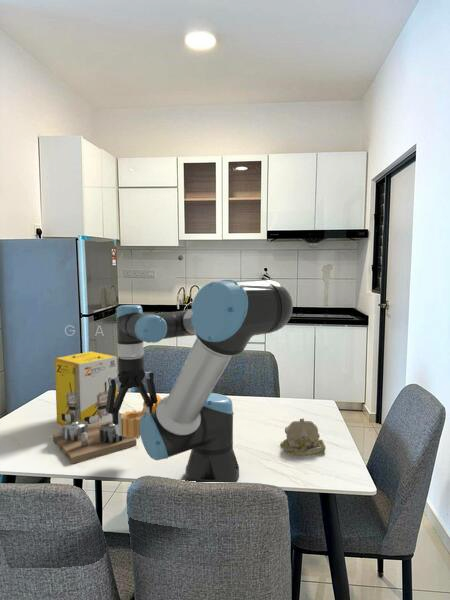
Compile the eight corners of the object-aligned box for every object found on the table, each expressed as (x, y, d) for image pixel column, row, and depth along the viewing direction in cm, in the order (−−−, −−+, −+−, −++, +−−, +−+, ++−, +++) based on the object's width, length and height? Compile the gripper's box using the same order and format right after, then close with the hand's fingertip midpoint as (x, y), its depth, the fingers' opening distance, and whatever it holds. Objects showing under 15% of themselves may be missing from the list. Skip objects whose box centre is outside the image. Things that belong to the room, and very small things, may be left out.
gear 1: (92, 437, 135) (91, 416, 134) (66, 443, 130) (65, 422, 129) (83, 429, 142) (83, 409, 141) (59, 435, 136) (58, 415, 136)
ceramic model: (281, 456, 125) (281, 425, 125) (279, 440, 136) (279, 412, 136) (327, 457, 124) (327, 426, 123) (321, 442, 135) (321, 413, 135)
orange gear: (152, 432, 120) (151, 416, 120) (125, 439, 115) (125, 422, 115) (139, 424, 127) (139, 408, 127) (114, 430, 122) (114, 414, 122)
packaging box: (81, 433, 143) (79, 364, 141) (56, 422, 153) (54, 358, 151) (118, 419, 156) (116, 356, 154) (93, 410, 166) (91, 351, 164)
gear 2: (129, 439, 133) (129, 425, 133) (105, 445, 128) (104, 431, 128) (119, 430, 140) (119, 417, 139) (96, 437, 135) (95, 423, 134)
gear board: (136, 445, 133) (136, 427, 133) (71, 464, 120) (71, 444, 120) (112, 425, 150) (111, 410, 149) (53, 440, 137) (52, 423, 136)
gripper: (156, 350, 129) (158, 419, 131) (91, 359, 116) (94, 435, 118) (168, 353, 123) (170, 425, 125) (100, 363, 110) (103, 444, 112)
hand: (133, 430), depth 121 cm, fingers closed on orange gear, 8 cm apart
